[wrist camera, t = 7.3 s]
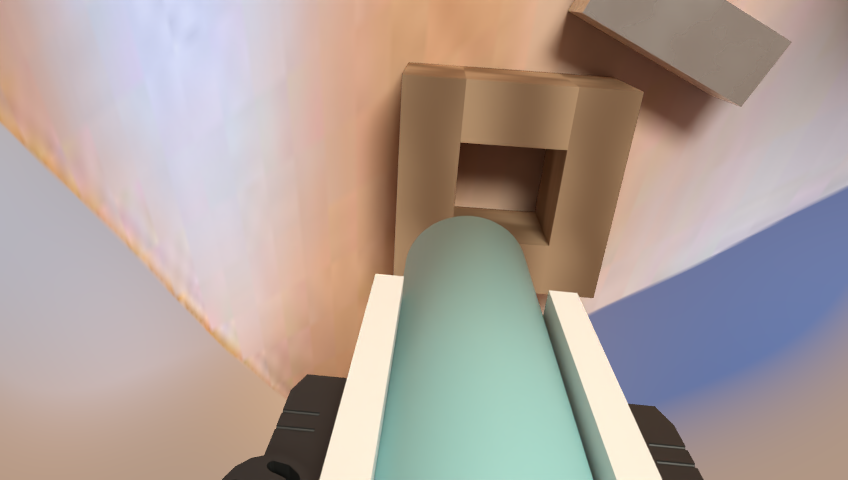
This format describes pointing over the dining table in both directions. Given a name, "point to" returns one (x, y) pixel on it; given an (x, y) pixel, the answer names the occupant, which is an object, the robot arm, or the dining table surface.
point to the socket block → (521, 127)
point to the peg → (475, 367)
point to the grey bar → (692, 40)
